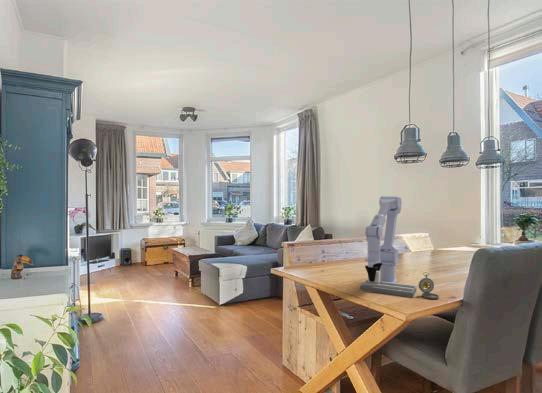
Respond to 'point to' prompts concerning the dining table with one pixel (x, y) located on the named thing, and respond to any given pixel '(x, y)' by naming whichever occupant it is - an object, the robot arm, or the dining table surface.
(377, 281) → the fader tab
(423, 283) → the pocket watch
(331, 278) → the dining table surface
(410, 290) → the fader console
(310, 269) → the dining table surface
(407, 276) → the dining table surface
